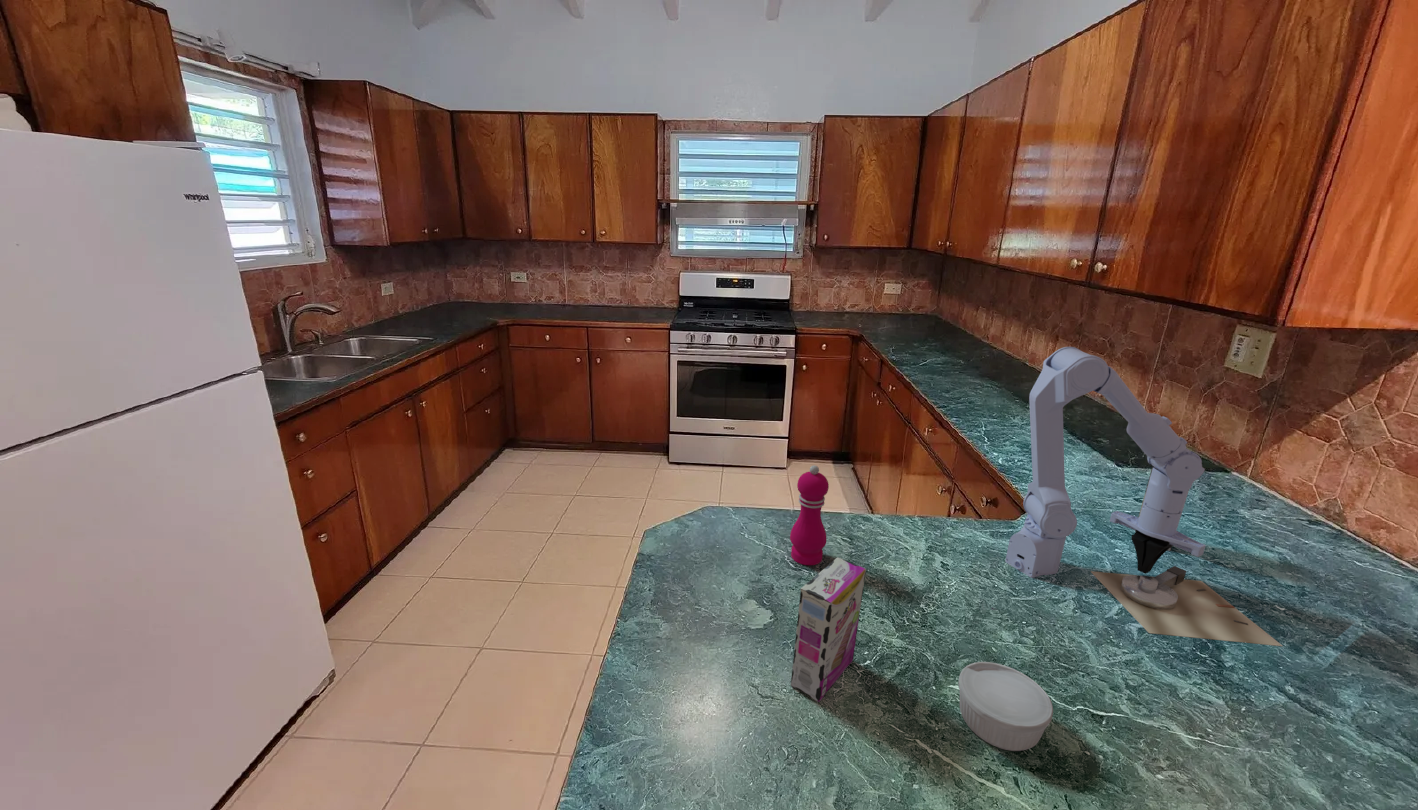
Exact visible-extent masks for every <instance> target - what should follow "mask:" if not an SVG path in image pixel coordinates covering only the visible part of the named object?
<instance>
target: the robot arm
mask: <svg viewBox="0 0 1418 810" xmlns="http://www.w3.org/2000/svg"><path fill="white" fill-rule="evenodd" d="M1091 392H1095V393H1097V394H1100V395H1102V396H1103V398H1105V400H1107V401H1108V402H1109V404H1110V405H1111V406H1112V407H1113V408H1114V409H1115V410H1116V411H1117V412H1118V413H1119V414H1120V415H1121V416H1122V417H1123V418H1124V419H1125V420H1126V422H1127V426H1126V433H1127V434H1128V436H1129V437H1130V438H1131V439H1132V440H1133V441H1134V443H1136V445H1137V446H1138V447H1139V449H1141V451H1142V452H1143V453H1144V454H1145V456H1146V459H1147V463H1148V464H1149V465H1151V466H1152V467H1154V468H1153V469H1152V468H1151V470H1152V473H1151V472H1150V473H1151V476H1150V475H1149V477H1150V480H1149V479H1148V481H1149V484H1148V483H1147V484H1148V487H1147V486H1146V488H1147V491H1146V490H1145V491H1146V494H1145V493H1144V495H1145V498H1144V497H1143V499H1144V502H1143V501H1142V502H1143V505H1142V504H1141V506H1142V509H1141V508H1140V510H1141V512H1140V511H1139V513H1140V516H1139V515H1138V516H1135V515H1131V514H1128V513H1125V512H1121V511H1119V510H1115V511H1113V512H1111V515H1110V518H1109V522H1110V523H1112V524H1119V525H1122V526H1123V527H1126V528H1129V529H1131V530H1133V531H1134V534H1132V535H1131V541H1132V544H1133V546H1134V549H1135V553H1136V554H1135V555H1136V560H1137V571H1138V572H1140V573H1142V574H1144V575H1147V574H1149V573H1150V572H1152V569H1153V568H1154V566H1155V564H1156V563H1157V561H1158V560H1160V558H1161V557H1162V556H1164V554H1165V553H1166V552H1167V550H1168V549H1169V548H1171V549H1172V547H1176V548H1178V549H1181V550H1183V551H1186V552H1189V553H1190V555H1192V556H1194V557H1195V558H1196V557H1197V558H1199V557H1201V556H1203V555H1204V552H1205V549H1206V544H1204V543H1201V542H1199V541H1197V540H1195V539H1193V538H1191V537H1189V536H1187V535H1185V534H1184V533H1182V532H1180V531H1178V530H1177V529H1178V527H1179V524H1180V520H1181V518H1180V517H1182V513H1183V511H1184V508H1183V507H1185V505H1186V501H1187V498H1186V497H1188V495H1187V494H1189V492H1188V491H1190V489H1192V486H1193V484H1194V482H1196V481H1197V480H1198V479H1199V478H1200V477H1201V476H1202V475H1203V474H1204V472H1205V470H1206V468H1204V467H1203V464H1202V463H1203V461H1202V460H1203V459H1202V458H1201V457H1200V455H1198V453H1196V452H1194V451H1192V450H1191V449H1189V448H1187V444H1188V440H1186V439H1185V438H1184V437H1180V436H1179V435H1178V434H1177V433H1176V432H1175V431H1174V430H1173V428H1172V427H1171V425H1172V424H1173V422H1172V421H1171V420H1170V418H1169V417H1166V416H1164V415H1163V416H1161V415H1160V414H1159V413H1153V412H1147V410H1146V409H1145V407H1144V406H1143V405H1142V404H1141V403H1140V401H1139V400H1138V399H1137V397H1136V396H1135V395H1134V393H1133V392H1132V390H1130V388H1129V387H1128V385H1127V384H1126V383H1125V382H1124V381H1123V379H1122V378H1121V376H1120V375H1119V374H1118V373H1117V371H1116V370H1115V369H1114V368H1112V366H1109V365H1108V363H1107V362H1106V361H1105V359H1103V358H1101V357H1100V356H1097V355H1093V354H1089V353H1088V352H1084V351H1082V350H1081V349H1079V348H1077V347H1075V346H1064V347H1061V348H1059V349H1057V350H1056V351H1054V352H1053V353H1051V355H1049V356H1048V357H1047V358H1045V360H1043V363H1042V369H1041V372H1040V374H1039V375H1038V377H1037V379H1036V381H1035V382H1034V384H1033V386H1032V389H1031V390H1030V392H1029V398H1028V399H1029V400H1028V401H1029V420H1030V421H1029V423H1030V424H1029V426H1030V444H1031V445H1030V449H1031V468H1032V469H1031V470H1032V471H1031V472H1032V475H1031V476H1032V481H1031V482H1029V483H1028V484H1027V492H1026V495H1025V497H1024V499H1023V502H1022V503H1023V509H1024V511H1025V512H1026V513H1027V515H1026V517H1025V520H1024V524H1023V526H1022V527H1021V529H1020V530H1019V531H1018V532H1016V533H1013V535H1011V536H1010V538H1009V542H1008V546H1007V551H1006V557H1005V561H1004V562H1005V564H1008V565H1010V566H1011V567H1013V568H1014V569H1016V570H1018V571H1019V572H1021V573H1023V574H1024V575H1026V576H1027V577H1030V578H1037V577H1040V576H1046V575H1047V576H1048V575H1055V574H1057V573H1058V571H1059V568H1060V564H1061V560H1062V556H1063V552H1064V548H1065V544H1066V539H1067V537H1069V536H1070V535H1071V534H1073V533H1074V532H1075V530H1076V527H1077V525H1078V519H1077V516H1076V515H1075V513H1074V512H1073V510H1072V505H1071V504H1072V501H1071V499H1070V497H1069V493H1068V492H1067V489H1066V480H1065V479H1066V477H1065V475H1066V473H1065V442H1064V436H1065V435H1064V410H1063V409H1064V407H1065V406H1067V404H1069V403H1071V401H1072V400H1075V399H1077V398H1080V397H1082V396H1084V395H1086V394H1088V393H1089V394H1090V393H1091ZM1155 468H1156V469H1155ZM1157 469H1158V470H1157ZM1184 504H1185V505H1184ZM1135 530H1136V532H1135Z"/></svg>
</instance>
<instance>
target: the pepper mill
mask: <svg viewBox="0 0 1418 810" xmlns="http://www.w3.org/2000/svg"><path fill="white" fill-rule="evenodd" d="M796 486H797V491H798V492H799V495H798V503H799V504H800V512H799V514H798V515H799V516H798V517H797V520H796V521H795V523H794V524H793V526H792V528H791V529H790V530H791V531H790V536H789V540H790V542H791V544H792V546H791V550H790V551H791V552H790V556H791V559H792V560H793V561H794V562H796V563H797V564H800V565H805V566H815V565H818V564H820V563H821V562H822V560H823V554H824V552H823V548H825V546H826V544H827V532H826V529H825V526H824V523H823V521H822V516H821V513H822V507H824V506H825V500H826V497H825V496H826V495H827V494H828V492H829V480H828V478H827V477H826V476H825V475H824V474H822V473H821V472H820V469H819V467H818V466H817V465H815V464H814V465H811V466H810V468H809V471H806V472H804V473H802V474H801V475H800V476H799V478H798V480H797V484H796Z"/></svg>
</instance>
